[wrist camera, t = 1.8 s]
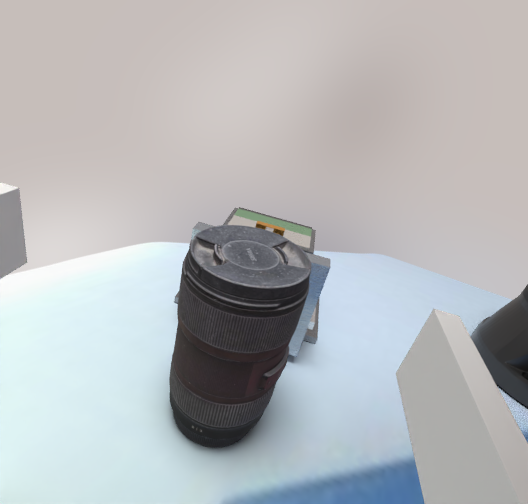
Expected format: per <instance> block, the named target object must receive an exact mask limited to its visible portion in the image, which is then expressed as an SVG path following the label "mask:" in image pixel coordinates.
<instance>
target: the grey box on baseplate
mask: <svg viewBox="0 0 528 504" xmlns="http://www.w3.org/2000/svg"><path fill="white" fill-rule="evenodd" d="M257 221H261V222H264V223H268V224H271V225H275V226H278V227H282V228H285V231H284V235H283V237H285V238H287V239H288V240H290V241H291V242H293V243H295V244H296V245H298V246H299V247H300V248H301V249H302V250H303V251H304V252H307V253H310V254H313V252H314V242H315V230H313V229H312V228H311V227H308V226H304V225H301V224H297V223H293V222H290V221H286V220H282V219H279V218H276V217H272V216H268V215H265V214H261V213H258V212H254V211H251V210H247V209H244V208H239V209H238V208H235V209H234V210H233V212H232V213H231V214H230V216H229V217H228V219H227V220H226V221H225V223H224V224H223V225H242V226H250V227H256V223H257ZM178 298H179V292H178V293H177V295H176V296H175V303H178ZM318 312H319V299H318V301H317V304H316V314H315V324H314V327H313V329H308V328H307V331H306V333H305V336H304V339H303V340H304V341H307V342H311V343H314V344H315V343H316V340H317V332H318Z"/></svg>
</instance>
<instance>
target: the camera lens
mask: <svg viewBox="0 0 528 504" xmlns="http://www.w3.org/2000/svg"><path fill="white" fill-rule="evenodd" d="M189 248H190V249H189V251H188V253H187V255H186V257H185V259H184V261H183V267H182V275H181V283H180V290H179V298H178V327H177V334H176V341H175V347H174V353H173V356H172V363H171V370H170V402H171V406H172V409H173V414H174V418H175V421H176V424H177V426H178V427H179V429H180V430H181V432H182V433H183V434H184V435H185V436H186V437H187V438H189V439H190V440H192V441H193V442H195V443H197V444H200V445H202V446H206V447H214V448H217V447H225V446H229V445H232V444H234V443H236V442H238V441H239V440H241V439H242V438H243V437H244V436H245V435H246V434H247V433H248V432H249V431H250V430H251V429H252V428H253V427H254V426H255V425H256V424H257V422H258V421H259V419H260V418H261V416H262V414H263V412H264V410H265V408H266V407H267V405H268V403H269V401H270V399H271V396H272V393H273V391H274V388H275V384H276V382H277V380H278V379H279V377H280V375H281V373H282V371H283V369H284V368H285V365H286V362H287V357H288V355H289V346H288V345H289V343H290V341H291V338H292V336H293V334H294V332H295V330H296V328H297V325H298V322H299V319H300V316H301V313H302V310H303V307H304V304H305V301H306V298H307V295H308V292H309V287H310V283H309V279H310V274H311V268H312V267H311V261H310V260H309V258H308V256H307V254H306V253H305V252H304V251H303V250H302V249H301V248H300V247H299V246H298V245H296V244H295V243H293V242H291V241H290V240H288V239H287V238H285V237H283V236H281V235H279V234H276V233H274V232H271V231H268V230H264V229H260V228H255V227H250V226H242V225H221V226H215V227H210V228H207V229H205V230H202V231H200V232H199V233H197V234H196V235H195V236H194V237H193V239H192V240H191V243H190V246H189Z"/></svg>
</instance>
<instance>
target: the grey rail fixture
mask: <svg viewBox="0 0 528 504" xmlns="http://www.w3.org/2000/svg"><path fill="white" fill-rule="evenodd" d="M210 227H215V226H212V225H208V224H205V223H201V222H198V224H197V225H196V226H195V227H194V228H193V232H192V239H193V237H194V236H195V235H196V234H197V233H199V232H200V231H202V230H205V229H207V228H210ZM255 228H260V229H264V230H268V231H271V232H274V233H276V234H279V235H281V236H283V235H284V231H285V228H282V227H278V226H275V225H271V224H268V223H264V222H261V221H257V223H256V227H255ZM192 239H191V240H192ZM305 253H306V254H307V256H308V258H309V260H310V261H311V267H312V268H311V274H310V279H309V283H310V287H309V292H308V295H307V298H306V301H305V304H304V307H303V310H302V313H301V316H300V319H299V322H298V325H297V328H296V330H295V332H294V334H293V336H292V338H291V341H290V343H289V345H288V346H289V355H292V356H295V357H297V355H298V352H299V349H300V347H301V344H302V341H303V339H304V336H305V333H306V331H307V328H308V329H313V327H314V324H315V314H316V304H317V301H318V299H319V296H320V293H321V291H322V288H323V285H324V283H325V280H326V277H327V275H328V272H329V269H330V259H328V258H324V257H321V256H317V255H314V254H310V253H307V252H305Z"/></svg>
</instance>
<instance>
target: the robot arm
mask: <svg viewBox="0 0 528 504" xmlns="http://www.w3.org/2000/svg"><path fill="white" fill-rule="evenodd" d="M20 202H21V201H20V192H19V188H18V187H14V186H11V185H7V184H4V183H1V182H0V279H1V278H3V277H4V276H6V275H8V274H9V273H11V272H12V271H14V270H16V269H17V268H19V267H21V266H22V265H24V264H25V263H27V257H26V247H25V239H24V229H23V221H22V211H21V203H20ZM396 376H397V381H398V385H399V390H400V394H401V399H402V403H403V408H404V412H405V417H406V421H407V426H408V431H409V435H410V440H411V444H412V449H413V453H414V458H415V462H416V467H417V471H418V476H419V480H420V485H421V489H422V494H423V498H424V503H425V504H528V443H527V441H526V439H525V437H524V436H523V434H522V432H521V430H520V428H519V426H518V424H517V423H516V421H515V419H514V417H513V415H512V413H511V411H510V410H509V408H508V406H507V404H506V402H505V400H504V398H503V397H502V395H501V393H500V391H499V389H498V387H497V385H496V384H495V382H496V383H497V384H498V385H499V386H500V387H501V388H502V389H504V390H505V391H506V392H507V393H508V394H510V395H511V396H512V397H514V398H515V399H516V400H518V401H519V402H521V403H522V404H524V405H525V406H527V407H528V285H527V286H526V288H525V289H524V290H523V292H522V293H521V294H520V295H519V296H518V297H517V298H515V299H514V300H512V301H511V302H510V303H508V304H507V305H505V306H504V307H503V308H501V309H500V310H499V311H497V312H496V313H495V314H493V315H492V316H490V317H488V318H486V319H484V320H483V321H482V322H481V323H480V324H479V325H478V326H477V328H476V329H475V331H474V332H473V334H472V335H471V337H470V335H469V333H468V332H467V330H466V328H465V326H464V324H463V322H462V320H461V318H460V317H459V316H457V315H453V314H450V313H447V312H443V311H440V310H436V309H433V311H432V313H431V314H430V316H429V318H428V319H427V321H426V323H425V324H424V326H423V328H422V330H421V331H420V333H419V335H418V336H417V338H416V340H415V342H414V343H413V345H412V347H411V348H410V350H409V352H408V353H407V355H406V357H405V359H404V360H403V362H402V364H401V365H400V367H399V369H398V370H397V372H396ZM494 381H495V382H494Z"/></svg>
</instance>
